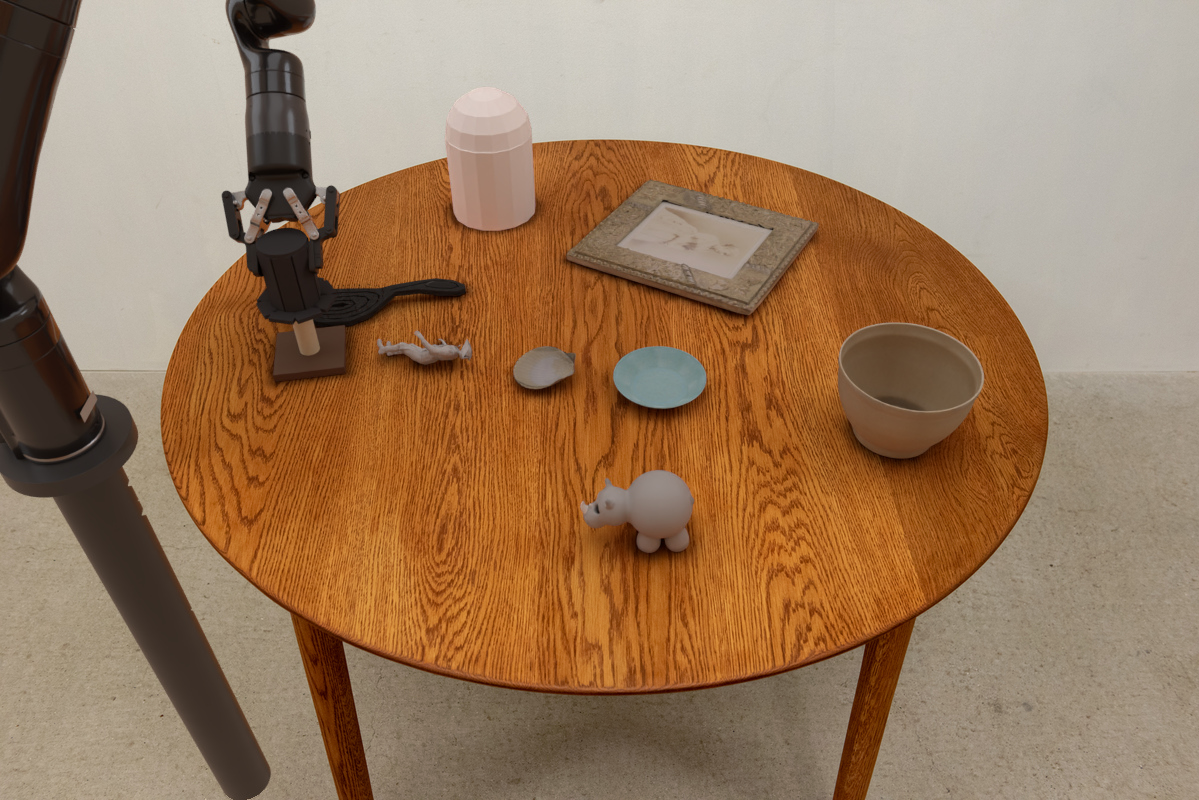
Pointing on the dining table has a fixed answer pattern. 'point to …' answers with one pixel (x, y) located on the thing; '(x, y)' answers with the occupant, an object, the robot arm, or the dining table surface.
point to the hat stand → (310, 352)
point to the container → (490, 160)
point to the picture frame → (696, 245)
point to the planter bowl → (906, 386)
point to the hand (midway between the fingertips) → (286, 274)
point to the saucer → (659, 377)
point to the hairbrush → (380, 299)
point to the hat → (290, 279)
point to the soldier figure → (426, 350)
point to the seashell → (543, 367)
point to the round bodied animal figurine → (646, 509)
